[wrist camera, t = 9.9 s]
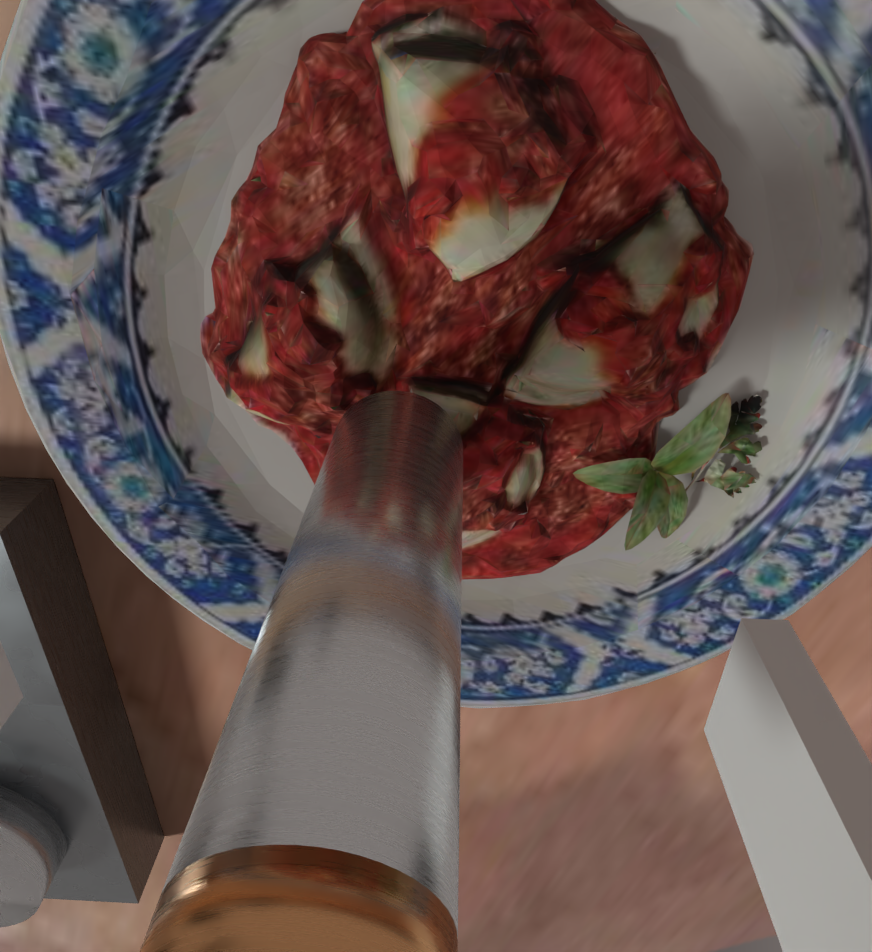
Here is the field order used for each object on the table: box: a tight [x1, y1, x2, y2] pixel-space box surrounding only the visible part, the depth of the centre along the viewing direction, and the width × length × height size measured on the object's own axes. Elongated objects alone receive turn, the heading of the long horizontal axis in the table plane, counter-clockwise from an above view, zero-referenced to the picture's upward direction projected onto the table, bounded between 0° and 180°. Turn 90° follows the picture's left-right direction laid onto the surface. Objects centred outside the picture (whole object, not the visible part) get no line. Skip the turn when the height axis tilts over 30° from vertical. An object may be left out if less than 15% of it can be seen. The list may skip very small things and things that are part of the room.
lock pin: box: [140, 391, 463, 952], centre depth 13 cm, size 4×4×13 cm
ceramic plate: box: [0, 0, 872, 708], centre depth 19 cm, size 26×26×3 cm
